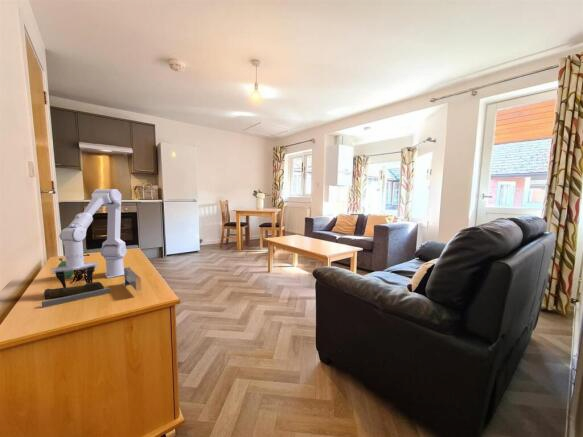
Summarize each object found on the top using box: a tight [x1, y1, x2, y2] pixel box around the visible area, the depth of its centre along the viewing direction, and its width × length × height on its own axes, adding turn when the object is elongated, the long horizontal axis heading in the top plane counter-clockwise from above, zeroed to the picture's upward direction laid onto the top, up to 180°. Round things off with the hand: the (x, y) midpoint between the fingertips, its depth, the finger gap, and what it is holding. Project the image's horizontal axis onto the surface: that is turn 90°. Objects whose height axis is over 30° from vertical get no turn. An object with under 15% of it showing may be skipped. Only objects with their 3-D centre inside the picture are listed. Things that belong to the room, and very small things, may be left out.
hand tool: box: [43, 281, 105, 300], centre depth 99 cm, size 19×4×5 cm, turn 110°
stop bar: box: [41, 287, 111, 308], centre depth 95 cm, size 2×20×2 cm, turn 133°
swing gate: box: [123, 266, 142, 292], centre depth 105 cm, size 21×2×7 cm, turn 45°
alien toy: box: [57, 257, 75, 279], centre depth 120 cm, size 7×8×10 cm
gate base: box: [122, 282, 132, 287], centre depth 112 cm, size 4×4×1 cm
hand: (77, 286), depth 103 cm, fingers open, 7 cm apart
